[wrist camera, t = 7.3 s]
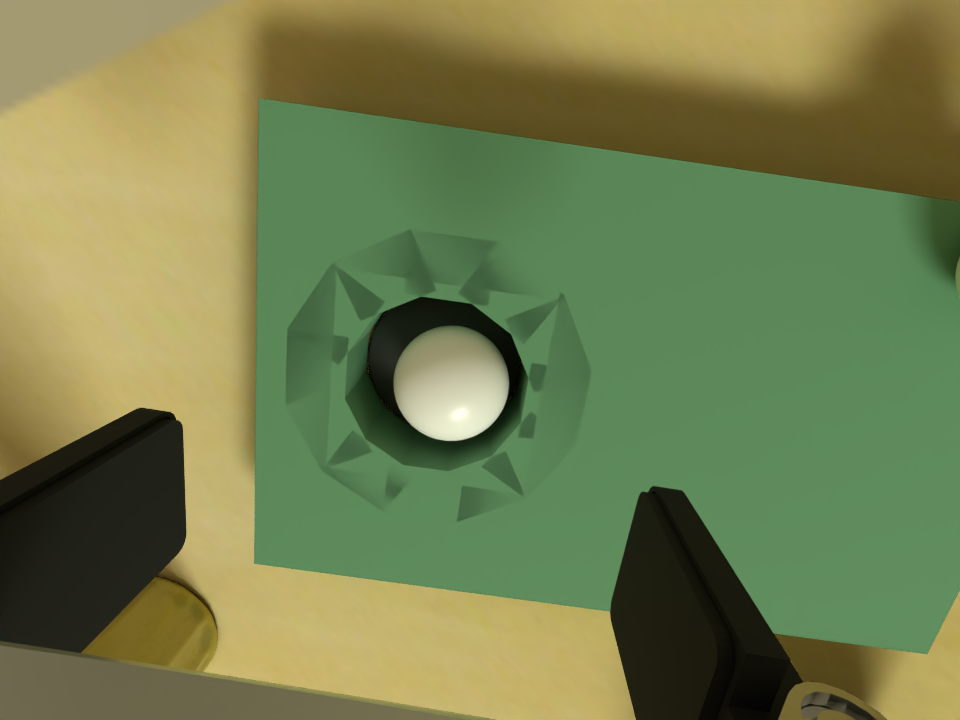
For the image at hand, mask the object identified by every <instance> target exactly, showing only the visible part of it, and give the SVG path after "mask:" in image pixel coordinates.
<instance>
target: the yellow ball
mask: <svg viewBox="0 0 960 720" xmlns="http://www.w3.org/2000/svg"><path fill="white" fill-rule="evenodd" d="M955 280H956V288H957V292H958V294H959V297H960V257H959V260H958V263H957V267H956V276H955Z"/></svg>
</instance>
